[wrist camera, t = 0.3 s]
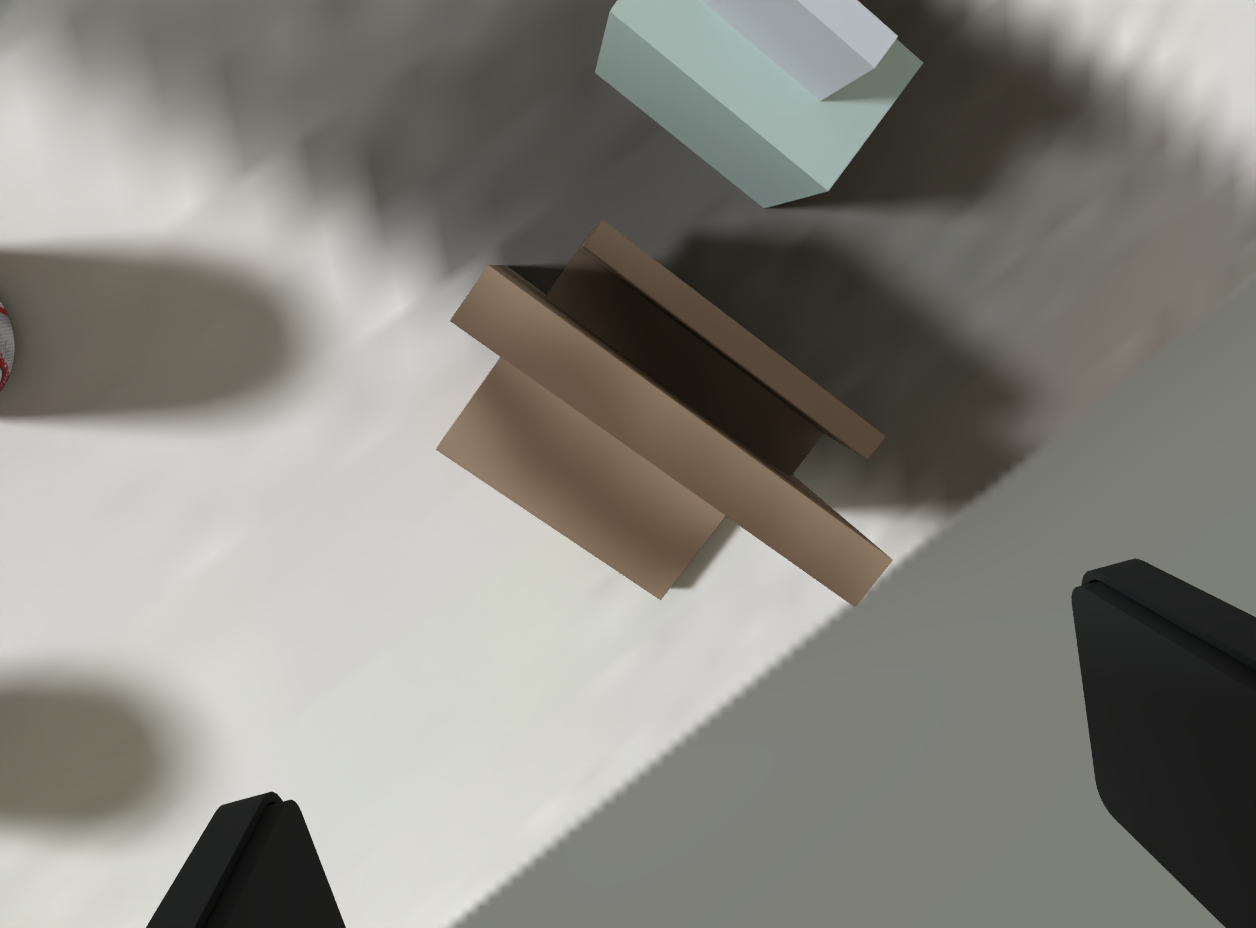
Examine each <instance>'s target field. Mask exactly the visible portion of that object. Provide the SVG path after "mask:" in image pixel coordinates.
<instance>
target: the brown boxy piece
mask: <svg viewBox="0 0 1256 928" xmlns="http://www.w3.org/2000/svg"><path fill="white" fill-rule="evenodd" d="M450 321H451V322H452V323H454V324H455V325H456V326H458V327H459V328H461V329H462V330H464V331H465V332H466V333H468V334H469V335H471V336H472V337H473V338H475V339H476V340H478V341H479V342H481V343H482V344H483V345H485V346H486V347H488V348H489V349H490V350H492V351H493V352H495V353H496V354H498V355H499V356H500V359H499V360H498V361H497V363H496V364H495V366H494V367H493V369H492V370H491V371H490V373H489V374H488V376H487V377H486V378H485V380H484V381H483V383H482V384H481V386H480V387H479V388H478V390H477V391H476V393H475V394H474V395H473V397H472V398H471V400H470V401H469V403H468V404H467V405H466V407H465V408H464V410H463V411H462V412H461V414H460V415H459V417H458V418H457V420H456V421H455V422H454V424H453V425H452V427H451V428H450V430H449V431H448V432H447V434H446V435H445V437H444V438H443V439H442V441H441V442H440V444H439V445H438V447H437V449H436V450H437V451H439V452H440V453H442V454H443V455H445V456H446V457H448V458H449V459H451V460H452V461H454V462H455V463H457V464H458V465H460V466H461V467H463V468H464V469H466V470H467V471H469V472H470V473H472V474H473V475H475V476H476V477H478V478H479V479H481V480H482V481H484V482H485V483H486V484H488V485H489V486H491V487H492V488H494V489H495V490H497V491H498V492H500V493H501V494H503V495H504V496H506V497H507V498H509V499H510V500H512V501H513V502H515V503H516V504H518V505H519V506H521V507H522V508H524V509H525V510H527V511H528V512H530V513H531V514H533V515H534V516H536V517H537V518H539V519H540V520H542V521H543V522H545V523H546V524H548V525H549V526H551V527H552V528H554V529H555V530H557V531H558V532H560V533H561V534H563V535H564V536H566V537H567V538H569V539H570V540H572V541H573V542H575V543H576V544H578V545H579V546H580V547H582V548H583V549H585V550H586V551H588V552H589V553H591V554H592V555H594V556H595V557H597V558H598V559H600V560H601V561H603V562H604V563H606V564H607V565H609V566H610V567H612V568H613V569H615V570H616V571H618V572H619V573H621V574H622V575H624V576H625V577H627V578H628V579H630V580H631V581H633V582H634V583H636V584H637V585H639V586H640V587H642V588H643V589H645V590H646V591H648V592H649V593H651V594H652V595H654V596H655V597H657V598H658V599H660V600H661V599H662V598H663V597H664V595H665V594H666V593H667V591H668V590H669V589H670V587H671V586H672V585H673V584H674V582H675V581H676V580H677V578H678V577H679V576H680V574H681V573H682V572H683V570H684V569H685V568H686V567H687V565H688V564H689V563H690V561H691V560H692V559H693V557H694V556H695V555H696V553H697V552H698V551H699V550H700V548H701V547H702V546H703V544H704V543H705V542H706V540H707V539H708V538H709V536H710V535H711V534H712V533H713V531H714V530H715V529H716V527H717V526H718V525H719V523H720V522H721V521H722V519H723V518H724V517H725V516H727V517H728V518H730V519H731V520H732V521H734V522H735V523H737V524H738V525H739V526H741V527H742V528H744V529H745V530H747V531H748V532H749V533H751V534H752V535H754V536H755V537H756V538H758V539H759V540H761V541H762V542H764V543H765V544H766V545H768V546H769V547H771V548H772V549H773V550H775V551H776V552H778V553H779V554H781V555H782V556H783V557H785V558H786V559H788V560H789V561H790V562H792V563H793V564H795V565H796V566H798V567H799V568H800V569H802V570H803V571H805V572H806V573H807V574H809V575H810V576H812V577H813V578H814V579H816V580H817V581H819V582H820V583H822V584H823V585H824V586H826V587H827V588H829V589H830V590H831V591H833V592H834V593H836V594H837V595H839V596H840V597H841V598H843V599H844V600H846V601H847V602H848V603H850V604H851V605H853V606H854V607H856V605H857V604H858V603H859V602H860V600H861V599H862V598H863V597H864V595H865V594H866V593H867V592H868V590H869V589H870V588H871V587H872V585H873V584H874V583H875V582H876V580H877V579H878V578H879V577H880V575H881V574H882V573H883V572H884V570H885V569H886V568H887V567H888V565H889V564H890V563H891V562H892V559H891V558H890V557H889V556H888V555H886V554H885V553H884V552H883V551H882V550H880V549H879V548H878V547H877V546H876V545H875V544H873V543H872V542H871V541H870V540H869V539H868V538H866V537H865V536H864V535H863V534H862V533H860V532H859V531H858V530H857V529H856V528H855V527H853V526H852V525H851V524H850V523H849V522H848V521H846V520H845V519H844V518H843V517H842V516H840V515H839V514H838V513H837V512H836V511H835V510H833V509H832V508H831V507H830V506H829V505H828V504H826V503H825V502H824V501H823V500H822V499H820V498H819V497H818V496H817V495H816V494H815V493H813V492H812V491H811V490H810V489H809V488H808V487H806V486H805V485H804V484H803V483H802V482H801V481H799V480H798V479H797V478H796V477H795V476H793V475H792V474H793V473H794V471H795V470H796V469H797V467H798V466H799V465H800V463H801V462H802V461H803V460H804V458H805V457H806V456H807V454H808V453H809V452H810V450H811V449H812V448H813V447H814V445H815V444H816V443H817V441H818V440H819V439H820V437H821V436H822V435H823V434H826V435H828V436H829V437H831V438H833V439H834V440H836V441H838V442H839V443H841V444H843V445H844V446H846V447H848V448H849V449H851V450H853V451H854V452H856V453H858V454H859V455H861V456H862V457H864V458H866V459H867V460H868V459H869V458H870V456H871V455H872V454H873V452H874V451H875V450H876V449H877V447H878V446H879V445H880V443H881V442H882V441H883V440H884V438H885V437H886V436H885V435H883V434H882V433H881V432H880V431H878V430H877V429H876V428H874V427H873V426H872V425H870V424H869V423H868V422H866V421H865V420H864V419H863V418H861V417H860V416H859V415H857V414H856V413H855V412H853V411H852V410H851V409H849V408H848V407H847V406H846V405H844V404H843V403H842V402H840V401H839V400H838V399H836V398H835V397H834V396H832V395H831V394H830V393H829V392H827V391H826V390H825V389H823V388H822V387H821V386H819V385H818V384H817V383H815V382H814V381H813V380H812V379H810V378H809V377H808V376H806V375H805V374H804V373H802V372H801V371H800V370H798V369H797V368H796V367H795V366H793V365H792V364H791V363H789V362H788V361H787V360H785V359H784V358H783V357H781V356H780V355H779V354H778V353H776V352H775V351H774V350H772V349H771V348H770V347H768V346H767V345H766V344H764V343H763V342H762V341H761V340H759V339H758V338H757V337H755V336H754V335H753V334H751V333H750V332H749V331H747V330H746V329H745V328H743V327H742V326H741V325H740V324H738V323H737V322H736V321H734V320H733V319H732V318H730V317H729V316H728V315H726V314H725V313H724V312H723V311H721V310H720V309H719V308H717V307H716V306H715V305H713V304H712V303H711V302H709V301H708V300H707V299H706V298H704V297H703V296H702V295H700V294H699V293H698V292H696V291H695V290H694V289H692V288H691V287H690V286H689V285H687V284H686V283H685V282H683V281H682V280H681V279H679V278H678V277H677V276H675V275H674V274H673V273H672V272H670V271H669V270H668V269H666V268H665V267H664V266H662V265H661V264H660V263H658V262H657V261H656V260H655V259H653V258H652V257H651V256H649V255H648V254H647V253H645V252H644V251H643V250H641V249H640V248H639V247H638V246H636V245H635V244H634V243H632V242H631V241H630V240H628V239H627V238H626V237H624V236H623V235H622V234H621V233H619V232H618V231H617V230H615V229H614V228H613V227H611V226H610V225H609V224H607V223H606V222H605V221H604V220H603V221H601V222H600V223H599V224H598V225H597V226H595V227H594V228H593V229H592V231H591V232H590V234H589V235H588V237H587V238H586V239H585V241H584V242H583V244H582V245H581V246H580V248H579V249H578V251H577V252H576V254H575V255H574V256H573V258H572V259H571V261H570V262H569V263H568V265H567V266H566V268H565V269H564V271H563V272H562V273H561V275H560V276H559V278H558V279H557V280H556V282H555V283H554V285H553V286H552V288H551V289H550V290H549V292H548V293H547V295H546V294H545V293H543V292H542V291H541V290H539V289H538V288H537V287H535V286H534V285H532V284H531V283H530V282H528V281H527V280H526V279H524V278H523V277H522V276H520V275H519V274H517V273H516V272H515V271H513V270H512V269H511V268H509V267H508V266H505V265H488V266H487V268H486V269H485V271H484V272H483V274H482V275H481V277H480V278H479V280H478V281H477V282H476V284H475V285H474V287H473V288H472V290H471V291H470V293H469V294H468V295H467V297H466V298H465V300H464V301H463V303H462V304H461V306H460V307H459V308H458V310H457V311H456V313H455V314H454V316H453V317H452V319H451V320H450Z"/></svg>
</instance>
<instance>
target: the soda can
mask: <svg viewBox="0 0 1256 928" xmlns="http://www.w3.org/2000/svg"><path fill="white" fill-rule="evenodd" d="M14 355H15V341H14V335H13V329H12V326H11V323H10V320H9V317H8V315H7V313H6V311H5V309H4V307H3V305H2V303H1V302H0V391H1V390H2V388H3V387H4V385H5V383H6V382H7V380H8V378H9V375H10V372H11V370H12V367H13V361H14Z"/></svg>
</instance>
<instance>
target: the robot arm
mask: <svg viewBox="0 0 1256 928" xmlns="http://www.w3.org/2000/svg"><path fill="white" fill-rule="evenodd" d="M1072 608H1073V616H1074V623H1075V630H1076V637H1077V646H1078V653H1079V661H1080V667H1081V675H1082V683H1083V690H1084V698H1085V705H1086V713H1087V720H1088V728H1089V735H1090V742H1091V749H1092V757H1093V765H1094V773H1095V780H1096V785H1097V789H1098V792H1099V795H1100V797H1101V799H1102V801H1103V803H1104V805H1105V807H1106V808H1107V810H1108V811H1109V813H1110V814H1111V815H1112V816H1113V817H1114V819H1116V821H1117V822H1118V823H1120V824H1121V825H1122V826H1123V827H1124V828H1125V829H1126V830H1127V831H1128V832H1129V833H1130V834H1131V835H1132V836H1133V837H1134V838H1135V839H1136V840H1137V841H1138V842H1139V843H1140V844H1141V845H1142V846H1143V847H1144V848H1145V849H1146V850H1147V851H1148V852H1149V853H1150V854H1151V855H1152V856H1153V857H1154V858H1155V859H1156V860H1157V861H1158V862H1159V863H1160V864H1161V865H1162V866H1163V867H1164V868H1165V869H1167V871H1169V873H1171V874H1172V875H1173V876H1174V877H1175V878H1176V879H1177V880H1178V881H1179V882H1180V883H1181V884H1182V885H1183V886H1184V887H1185V888H1186V889H1187V890H1188V891H1189V892H1190V893H1191V894H1192V895H1193V896H1194V897H1195V898H1196V899H1197V900H1198V901H1199V902H1200V903H1201V904H1202V905H1203V906H1204V907H1205V908H1206V909H1207V910H1208V911H1209V912H1210V913H1211V914H1212V915H1213V916H1214V917H1215V918H1216V919H1217V920H1218V921H1219V922H1220V923H1222V925H1224V926H1225V927H1226V928H1256V617H1254V616H1252V615H1250V614H1248V613H1246V612H1244V611H1242V610H1240V609H1238V608H1236V607H1234V606H1232V605H1230V604H1228V603H1226V602H1224V601H1222V600H1220V599H1218V598H1216V597H1214V596H1212V595H1210V594H1208V593H1206V592H1204V591H1202V590H1200V589H1198V588H1196V587H1194V586H1192V585H1190V584H1188V583H1186V582H1184V581H1182V580H1180V579H1178V578H1176V577H1174V576H1172V575H1170V574H1168V573H1166V572H1164V571H1162V570H1160V569H1158V568H1156V567H1154V566H1152V565H1150V564H1148V563H1146V562H1144V561H1142V560H1139V559H1132V560H1128V561H1124V562H1120V563H1117V564H1113V565H1109V566H1106V567H1102V568H1098V569H1095V570H1091V571H1087V572H1086V573H1085V575H1084V576H1083V580H1082V586H1079V587H1076V588H1075V589H1074V590H1073V592H1072ZM146 928H346V927H345V924H344V922H343V919H342V917H341V914H340V911H339V909H338V906H337V904H336V901H335V898H334V896H333V893H332V891H331V888H330V885H329V883H328V880H327V877H326V875H325V872H324V870H323V867H322V864H321V862H320V859H319V857H318V854H317V851H316V849H315V846H314V844H313V841H312V838H311V836H310V833H309V831H308V828H307V825H306V823H305V820H304V818H303V815H302V812H301V810H300V808H299V806H298V805H297V803H296V802H295V801H293V800H288V801H284V802H283V801H282V799H281V798H280V797H279V796H278V794H276V793H274V792H268V793H265V794H261V795H257V796H254V797H250V798H246V799H243V800H239V801H235V802H231V803H228V804H224V805H221V806H220V807H219V808H218V809H217V811H216V812H215V814H214V815H213V817H212V819H211V820H210V822H209V824H208V825H207V827H206V829H205V830H204V832H203V834H202V835H201V837H200V839H199V840H198V842H197V844H196V845H195V847H194V849H193V850H192V852H191V854H190V855H189V857H188V859H187V860H186V862H185V864H184V865H183V867H182V869H181V870H180V872H179V874H178V875H177V877H176V879H175V880H174V882H173V884H172V885H171V887H170V889H169V890H168V892H167V893H166V895H165V897H164V898H163V900H162V902H161V903H160V905H159V907H158V908H157V910H156V912H155V913H154V915H153V917H152V918H151V920H150V922H149V923H148V925H147V927H146Z"/></svg>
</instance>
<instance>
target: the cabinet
mask: <svg viewBox="0 0 1256 928" xmlns="http://www.w3.org/2000/svg"><path fill="white" fill-rule="evenodd" d="M897 37H898V36H897V35H896V34H895V33H894V32H893V31H892V30H890V29H889V28H888V27H887V26H886V25H885V24H884V23H883V22H881V21H880V20H879V19H878V18H877V17H876V16H875V15H874V14H872V13H871V12H870V11H869V10H868V9H867V8H866V7H864V6H863V5H862V4H861V3H860V2H859V1H858V0H617V2H616V3H615V5H614V6H613V8H612V9H611V11H610V13H609V17H608V21H607V25H606V30H605V34H604V38H603V42H602V46H601V50H600V54H599V58H598V62H597V66H596V71H595V73H596V74H598V75H599V76H600V77H601V78H602V79H604V80H605V81H606V82H607V83H609V84H610V85H611V86H612V87H614V88H615V89H616V90H617V91H619V92H620V93H621V94H622V95H624V96H625V97H626V98H627V99H629V100H630V101H631V102H632V103H634V104H635V105H636V106H637V107H639V108H640V109H641V110H642V111H644V112H645V113H646V114H647V115H649V116H650V117H651V118H652V119H654V120H655V121H656V122H657V123H659V124H660V125H661V126H662V127H663V128H665V129H666V130H667V131H668V132H670V133H671V134H672V135H673V136H675V137H676V138H677V139H678V140H680V141H681V142H682V143H683V144H685V145H686V146H687V147H688V148H690V149H691V150H692V151H693V152H695V153H696V154H697V155H698V156H700V157H701V158H702V159H703V160H705V161H706V162H707V163H708V164H710V165H711V166H712V167H713V168H715V169H716V170H717V171H718V172H720V173H721V174H722V175H723V176H725V177H726V178H727V179H728V180H729V181H731V182H732V183H733V184H734V185H736V186H737V187H738V188H739V189H741V190H742V191H743V192H744V193H746V194H747V195H748V196H749V197H751V198H752V199H753V200H754V201H756V202H757V203H758V204H759V205H761V206H762V207H763V208H768V207H771V206H775V205H779V204H783V203H786V202H790V201H794V200H797V199H801V198H805V197H809V196H812V195H816V194H820V193H824V192H827V191H829V190H830V188H831V187H832V186H833V184H834V183H835V182H836V180H837V179H838V178H839V176H840V175H841V173H842V172H843V171H844V169H845V168H846V167H847V165H848V164H849V163H850V161H851V160H852V159H853V157H854V156H855V155H856V153H857V152H858V151H859V149H860V148H861V146H862V145H863V144H864V142H865V141H866V140H867V138H868V137H869V136H870V134H871V133H872V132H873V130H874V129H875V128H876V126H877V125H878V123H879V122H880V121H881V119H882V118H883V117H884V115H885V114H886V113H887V111H888V110H889V109H890V107H891V106H892V105H893V103H894V102H895V101H896V99H897V98H898V96H899V95H900V94H901V92H902V91H903V90H904V88H905V87H906V86H907V84H908V83H909V82H910V80H911V79H912V78H913V76H914V75H915V73H916V72H917V71H918V69H919V68H920V67H921V65H922V64H923V62H922V61H921V60H920V59H919V58H918V57H916V56H915V55H914V54H913V53H912V52H911V51H910V50H908V49H907V48H906V47H905V46H904V45H903V44H902V43H901V42H899V41H898V40H897V39H896V38H897Z"/></svg>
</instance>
